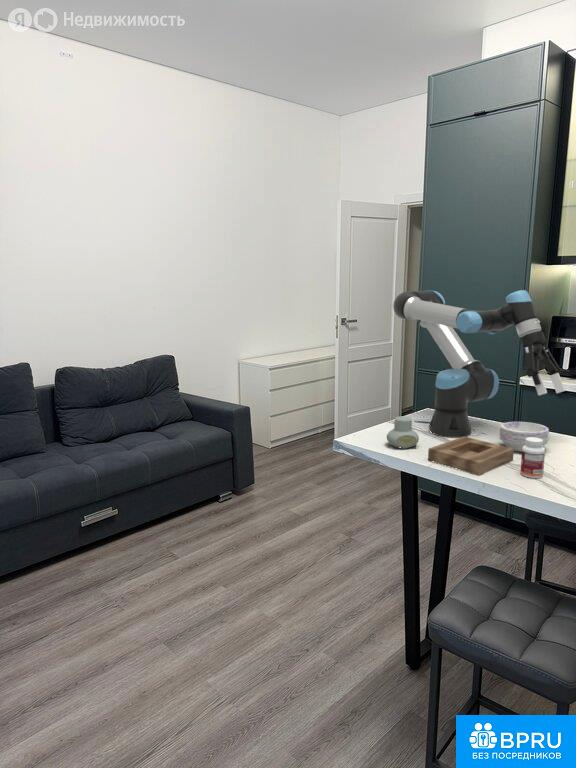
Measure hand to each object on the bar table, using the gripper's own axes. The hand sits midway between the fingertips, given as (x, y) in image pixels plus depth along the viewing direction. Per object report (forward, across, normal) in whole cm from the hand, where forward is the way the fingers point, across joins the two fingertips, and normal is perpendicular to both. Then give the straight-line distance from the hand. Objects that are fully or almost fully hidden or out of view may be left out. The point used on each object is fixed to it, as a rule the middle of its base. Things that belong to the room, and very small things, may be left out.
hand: (552, 393), depth 183 cm
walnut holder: (+15, -28, +20) cm, 38 cm away
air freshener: (+4, -32, +41) cm, 52 cm away
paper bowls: (+15, -5, +14) cm, 21 cm away
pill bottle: (+23, -27, +3) cm, 36 cm away
